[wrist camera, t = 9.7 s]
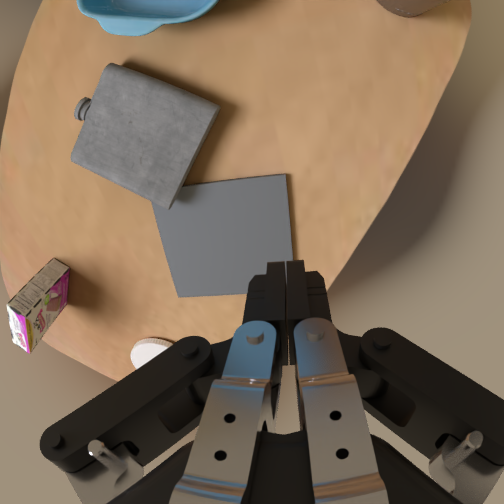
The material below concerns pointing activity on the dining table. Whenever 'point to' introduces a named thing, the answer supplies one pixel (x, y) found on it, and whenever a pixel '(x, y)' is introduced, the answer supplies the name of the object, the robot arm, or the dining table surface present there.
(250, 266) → the mat
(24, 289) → the candy bar box
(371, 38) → the dining table surface
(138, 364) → the plastic lid
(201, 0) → the casserole dish
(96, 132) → the hip flask
